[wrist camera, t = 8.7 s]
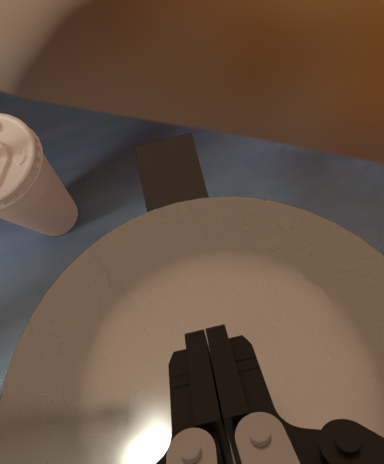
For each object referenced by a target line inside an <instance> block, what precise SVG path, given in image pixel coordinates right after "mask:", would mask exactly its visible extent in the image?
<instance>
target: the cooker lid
mask: <svg viewBox="0 0 384 464" xmlns="http://www.w3.org/2000/svg"><path fill="white" fill-rule="evenodd" d="M135 152H136V157H137V162H138V167H139V172H140V177H141V182H142V187H143V192H144V197H145V202H146V207H147V213H145V214H143V215H140V216H138V217H136V218H134V219H131V220H129V221H127V222H126V223H124V224H122V225H121V226H119V227H117V228H116V229H114V230H112V231H111V232H109V233H107V234H106V235H104V236H103V237H102V238H100V239H99V240H98V241H97V242H95V243H94V244H93V245H91V246H90V247H89V248H87V249H86V250H85V251H84V252H83V253H82V254H81V255H80V256H79V257H78V258H77V259H76V260H75V261H73V262H72V263H71V264H70V265H69V266H68V267H67V268H66V269H65V270H64V272H63V273H62V274H61V275H60V276H59V278H58V279H57V280H56V281H55V283H54V284H53V285H52V286H51V287H50V289H49V290H48V291H47V293H46V294H45V296H44V297H43V299H42V300H41V302H40V303H39V305H38V306H37V308H36V310H35V311H34V313H33V314H32V316H31V318H30V320H29V322H28V324H27V326H26V328H25V330H24V332H23V334H22V336H21V338H20V340H19V342H18V344H17V347H16V349H15V352H14V355H13V357H12V360H11V363H10V366H9V368H8V371H7V374H6V378H5V382H4V386H3V390H2V394H1V398H0V464H155V463H156V462H158V461H159V460H160V459H161V458H162V456H163V455H164V454H165V453H166V451H167V449H168V446H169V444H170V442H171V437H172V425H171V406H170V387H169V368H168V364H169V362H170V359H171V357H172V354H173V352H175V351H179V350H183V349H186V344H185V334H186V333H190V332H194V331H198V330H202V329H204V331H205V335H206V338H207V334H206V328H210V327H214V326H218V325H222V324H225V327H226V331H227V334H228V338H232V337H236V336H240V335H243V336H244V337H245V338H246V339H247V340H248V341H249V342H250V343H251V344H252V346H253V349H254V352H255V354H256V357H257V360H258V363H259V366H260V369H261V371H262V374H263V377H264V380H265V382H266V385H267V388H268V391H269V394H270V396H271V399H272V402H273V405H274V407H275V410H276V411H277V413H278V414H279V416H280V417H281V418H282V419H283V420H285V421H286V422H288V423H289V424H291V425H293V426H296V427H300V428H307V429H318V430H321V429H322V428H323V426H324V425H325V424H327V423H328V422H330V421H332V420H335V419H348V420H352V421H355V422H357V423H359V424H361V425H362V426H364V427H366V428H368V429H369V430H371V431H373V432H375V433H376V434H378V435H380V436H382V437H383V438H384V255H382V254H381V253H380V252H378V251H377V250H376V249H374V248H373V247H372V246H370V245H369V244H368V243H366V242H365V241H364V240H362V239H361V238H360V237H358V236H356V235H355V234H353V233H351V232H350V231H348V230H346V229H344V228H343V227H341V226H339V225H338V224H336V223H334V222H332V221H330V220H327V219H325V218H323V217H321V216H318V215H316V214H314V213H311V212H309V211H307V210H303V209H300V208H297V207H294V206H290V205H287V204H284V203H280V202H274V201H269V200H263V199H258V198H247V197H231V196H226V197H209V198H208V194H207V190H206V187H205V183H204V179H203V175H202V172H201V168H200V164H199V160H198V157H197V153H196V149H195V145H194V142H193V138H192V134H191V133H190V134H186V135H182V136H177V137H173V138H169V139H165V140H161V141H157V142H153V143H149V144H145V145H141V146H137V147H135ZM207 342H208V339H207ZM208 346H209V344H208ZM209 350H210V349H209ZM228 438H229V437H228ZM229 442H230V441H229ZM230 447H231V444H230ZM231 452H232V448H231ZM232 457H233V462H234V464H236V463H235V459H234V455H233V452H232Z"/></svg>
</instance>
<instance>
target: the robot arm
mask: <svg viewBox="0 0 384 464" xmlns="http://www.w3.org/2000/svg"><path fill="white" fill-rule="evenodd" d="M206 334H207V338H206V335H205V331H204V329H202V330H198V331H194V332H190V333H186V334H185V344H186V349H183V350H179V351H175V352H173V354H172V357H171V359H170V362H169V364H168V368H169V387H170V406H171V425H172V437H171V442H170V444H169V446H168V449H167V451H166V453H165V454H164V455H163V456H162V458H161V459H160V460H159V461H158V462H156V463H155V464H234V462H233V457H232V452H233V455H234V459H235V463H236V464H384V438H383V437H382V436H380V435H378V434H376V433H375V432H373V431H371V430H369V429H368V428H366V427H364V426H362V425H361V424H359V423H357V422H355V421H352V420H348V419H335V420H332V421H330V422H328V423H327V424H325V425H324V426H323V428H322V429H321V430H318V429H307V428H300V427H296V426H293V425H291V424H289V423H288V422H286V421H285V420H283V419H282V418H281V417H280V416H279V414H278V413H277V411H276V410H275V407H274V405H273V402H272V399H271V396H270V394H269V391H268V388H267V385H266V382H265V380H264V377H263V374H262V371H261V369H260V366H259V363H258V360H257V357H256V354H255V352H254V349H253V346H252V344H251V343H250V342H249V341H248V340H247V339H246V338H245V337H244V336H243V335H240V336H236V337H232V338H228V334H227V331H226V327H225V324H222V325H218V326H214V327H210V328H206ZM207 339H208V342H207ZM208 344H209V346H208ZM209 349H210V350H209ZM228 437H229V438H228ZM229 441H230V442H229ZM230 444H231V447H230ZM231 448H232V452H231Z"/></svg>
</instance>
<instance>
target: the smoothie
mask: <svg viewBox="0 0 384 464" xmlns="http://www.w3.org/2000/svg"><path fill="white" fill-rule="evenodd" d="M0 218H2V219H4V220H7V221H10V222H12V223H15V224H18V225H21V226H23V227H26V228H29V229H31V230H34V231H37V232H40V233H42V234H45V235H48V236H60V235H63V234H65V233H67V232H68V231H69V230H70V229H72V227H73V226H74V225H75V223H76V221H77V218H78V208H77V206H76V204H75V202H74V201H73V199H72V198H71V196H70V195H69V193H68V192H67V190H66V188H65V187H64V185H63V184H62V182H61V181H60V179H59V178H58V176H57V175H56V173H55V172H54V170H53V169H52V167H51V166H50V164H49V162H48V161H47V159H46V158H45V156H44V155H43V148H42V146H41V143H40V140H39V138H38V137H37V135H36V134H35V133H34V132H33V131H32V129H30V128H28V126H27V125H26V124H25V123H24V122H22V121H21V120H20V119H18V118H16V117H14V116H11V115H8V114H1V113H0Z"/></svg>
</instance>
